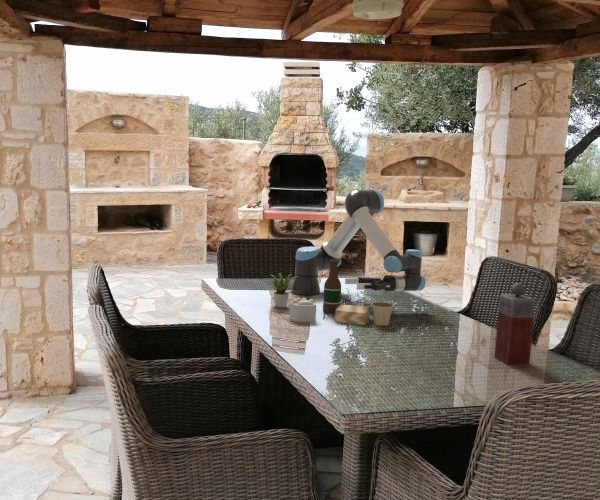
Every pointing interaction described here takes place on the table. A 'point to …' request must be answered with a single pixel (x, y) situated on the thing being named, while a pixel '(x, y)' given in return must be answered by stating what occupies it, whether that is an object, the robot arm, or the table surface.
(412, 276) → the robot arm
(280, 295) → the house plant
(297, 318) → the lumpy-topped squat cylinder
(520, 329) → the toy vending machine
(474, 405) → the table surface
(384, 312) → the flower pot
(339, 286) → the beer bottle
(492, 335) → the table surface
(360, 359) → the table surface
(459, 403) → the table surface
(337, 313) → the olive wood block
